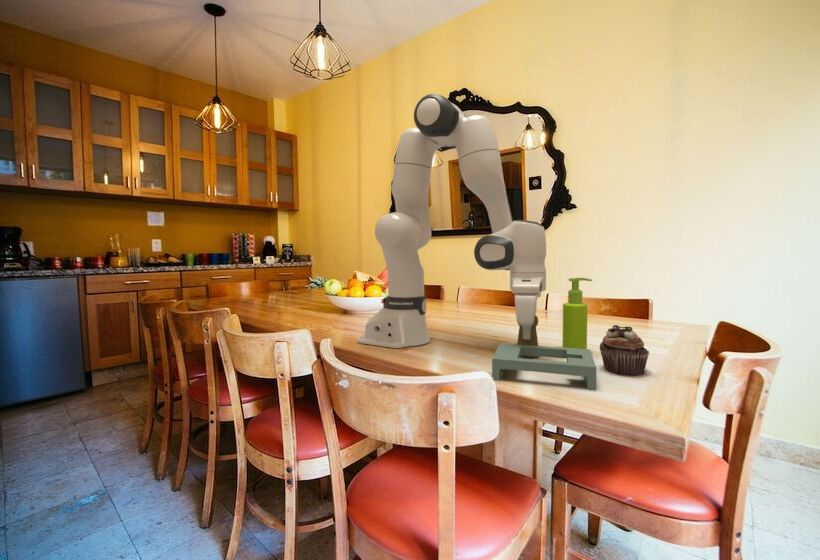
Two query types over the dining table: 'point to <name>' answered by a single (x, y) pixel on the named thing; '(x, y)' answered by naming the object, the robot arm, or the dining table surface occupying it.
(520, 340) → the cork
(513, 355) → the grey-green slotted stand
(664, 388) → the dining table surface
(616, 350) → the cupcake
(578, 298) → the soap dispenser
